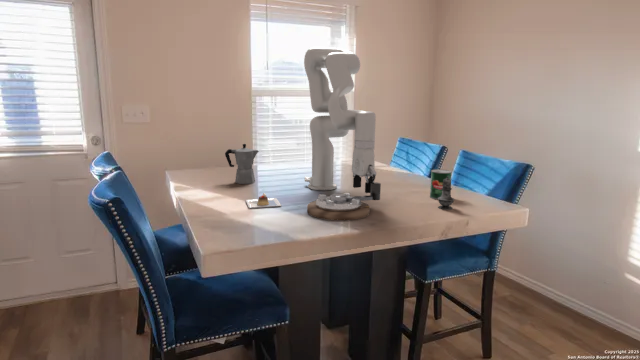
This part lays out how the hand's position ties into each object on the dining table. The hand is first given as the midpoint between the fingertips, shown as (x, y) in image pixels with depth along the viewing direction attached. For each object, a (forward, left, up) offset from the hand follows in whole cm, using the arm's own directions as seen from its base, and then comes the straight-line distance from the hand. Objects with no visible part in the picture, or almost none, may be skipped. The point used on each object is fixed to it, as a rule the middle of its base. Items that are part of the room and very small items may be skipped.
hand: (362, 190), depth 161 cm
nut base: (-3, -15, -5) cm, 16 cm away
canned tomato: (+25, +24, -5) cm, 35 cm away
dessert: (-33, -19, -6) cm, 38 cm away
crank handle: (-1, -12, -3) cm, 13 cm away
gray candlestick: (+30, +8, -5) cm, 31 cm away
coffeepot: (-63, +11, -5) cm, 65 cm away
